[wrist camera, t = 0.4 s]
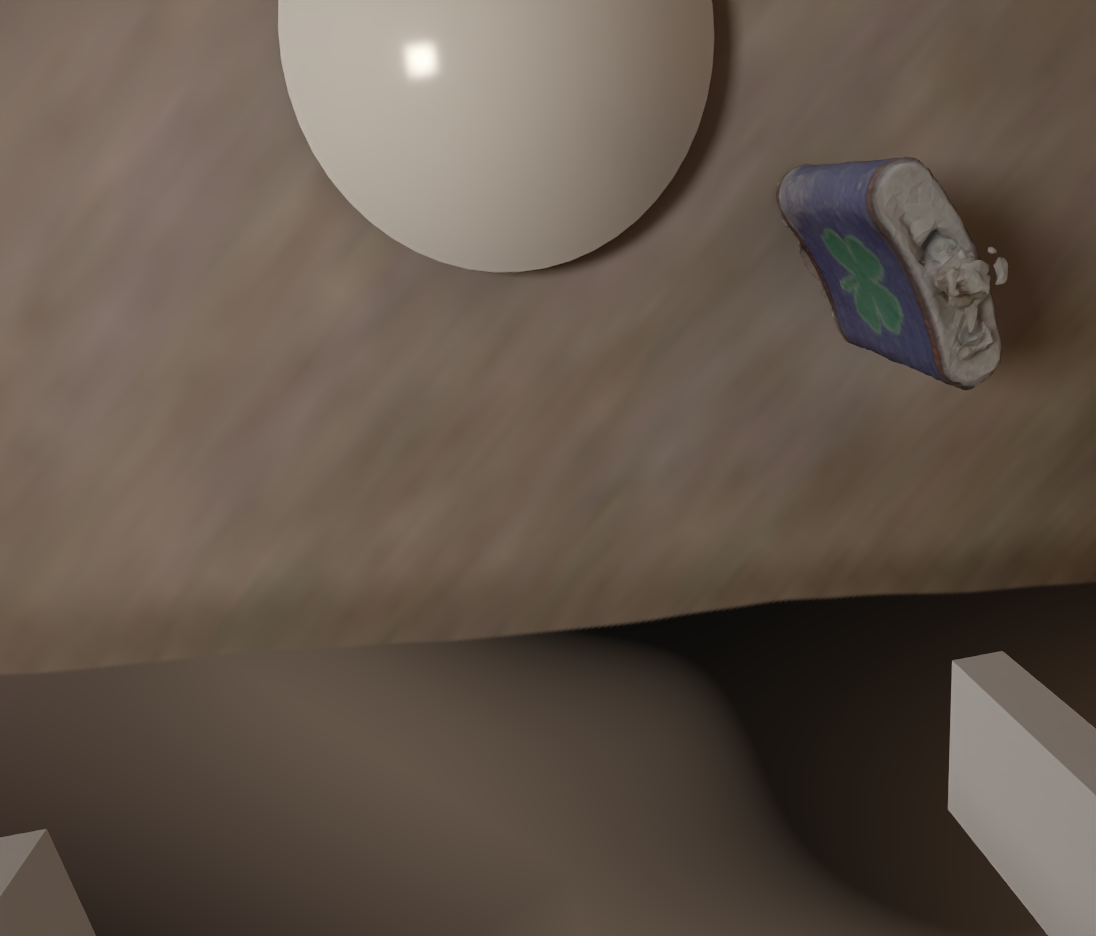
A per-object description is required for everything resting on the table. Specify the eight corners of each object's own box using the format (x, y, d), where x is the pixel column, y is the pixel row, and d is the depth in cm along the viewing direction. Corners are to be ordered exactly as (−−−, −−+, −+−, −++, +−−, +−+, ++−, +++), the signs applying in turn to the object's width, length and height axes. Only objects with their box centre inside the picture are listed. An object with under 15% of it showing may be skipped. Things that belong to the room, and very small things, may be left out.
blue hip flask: (763, 185, 34) (888, 180, 24) (821, 147, 34) (972, 126, 24) (847, 358, 37) (990, 417, 27) (901, 324, 37) (1065, 372, 27)
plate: (195, -66, 29) (184, -77, 28) (601, -296, 28) (606, -317, 27) (420, 336, 35) (418, 341, 34) (763, 158, 34) (774, 157, 33)
